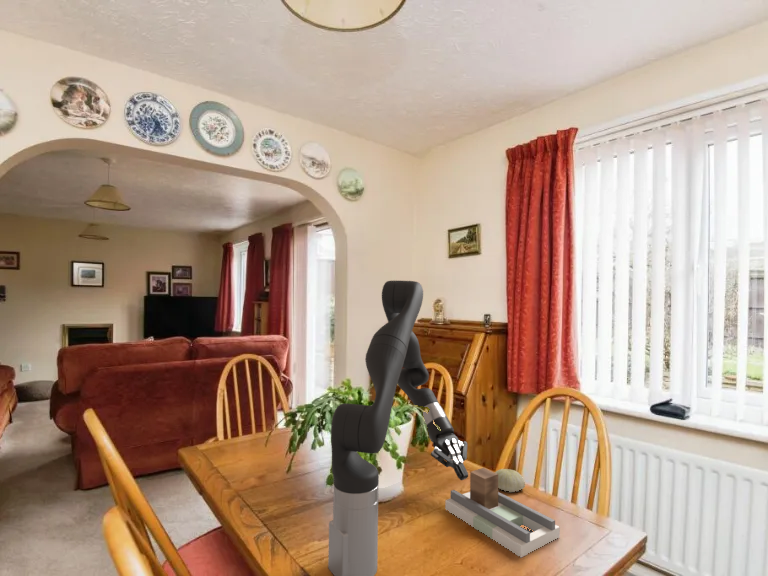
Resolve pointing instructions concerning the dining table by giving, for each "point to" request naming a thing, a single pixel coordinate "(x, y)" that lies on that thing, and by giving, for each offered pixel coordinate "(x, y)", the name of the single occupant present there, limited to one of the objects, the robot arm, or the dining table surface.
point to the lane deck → (505, 522)
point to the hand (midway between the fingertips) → (464, 478)
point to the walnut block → (484, 487)
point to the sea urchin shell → (510, 480)
